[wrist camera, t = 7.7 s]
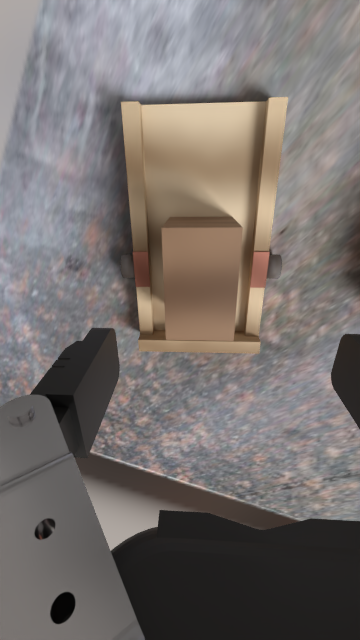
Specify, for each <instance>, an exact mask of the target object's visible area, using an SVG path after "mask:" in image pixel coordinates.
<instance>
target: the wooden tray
mask: <svg viewBox="0 0 360 640" xmlns="http://www.w3.org/2000/svg"><path fill="white" fill-rule="evenodd" d="M287 102H288V97H272V98H269V99H268V100H267V101H264V102H229V103H194V104H159V105H141V104H140V103H139V101H136V102H121V109H122V121H123V133H124V145H125V157H126V169H127V181H128V193H129V205H130V217H131V229H132V241H133V255H122V257H121V273H122V276H123V278H135V285H136V289H137V301H138V313H139V325H140V337H139V339H138V343H139V351H158V352H208V353H258V354H259V350H260V343H261V342H260V339H259V337H258V336H259V328H260V320H261V312H262V304H263V296H264V288H265V285H266V278H273V279H278V278H279V277H280V274H281V270H282V259H281V256H280V255H269V253H270V252H269V247H270V239H271V231H272V223H273V215H274V207H275V199H276V191H277V182H278V174H279V166H280V158H281V150H282V142H283V134H284V126H285V118H286V110H287ZM170 217H233V218H234V219H235V220H236V221H237V222H238V223H239V224H240V225H241V226H242V227H243V231H242V243H241V256H240V268H239V281H238V293H237V306H236V318H235V330H234V341H209V340H166V331H165V305H164V280H163V255H162V229H161V228H162V227H163V225H164V224H165V223H166V221H167V220H168V219H169V218H170Z"/></svg>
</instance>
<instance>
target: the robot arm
mask: <svg viewBox="0 0 360 640" xmlns="http://www.w3.org/2000/svg"><path fill="white" fill-rule="evenodd" d="M118 377H119V358H118V350H117V341H116V334H115V330H114V329H113V328H92V329H91V330H90V331H89V333H88V334H87V335H86V337H85V338H84V340H83V341H76V342H75V343H73V344H72V345H70V346H69V347H67V348H66V349H65V350H64V351H63V352H62V353H61V355H60V356H59V357H58V360H56V361H55V363H54V364H53V365H52V368H50V369H49V370H48V372H47V373H46V374H45V376H44V377H43V378H42V379H41V381H40V382H39V383H38V385H37V386H36V387H35V388H34V390H33V391H32V392H31V394H30V395H25V396H21V397H18V398H15V399H13V400H11V401H9V402H7V403H5V404H4V405H2V406H1V407H0V640H360V521H343V520H326V519H308V520H304V521H300V522H296V523H292V524H288V525H284V526H280V527H275V528H271V529H267V530H258V529H255V528H251V527H249V526H246V525H243V524H240V523H237V522H234V521H231V520H228V519H225V518H222V517H219V516H216V515H213V514H210V513H201V512H183V511H165V510H160V513H159V521H158V527H155V528H151V529H148V530H145V531H143V532H140V533H137V534H135V535H134V536H132V537H130V538H128V539H127V540H125V541H123V542H122V543H121V544H119V545H118V546H116V547H115V548H114V549H113V550H112V551H110V549H109V546H108V543H107V541H106V539H105V536H104V533H103V531H102V528H101V525H100V523H99V520H98V518H97V516H96V513H95V510H94V507H93V505H92V502H91V500H90V497H89V495H88V492H87V489H86V487H85V484H84V482H83V479H82V477H81V474H80V471H79V469H78V466H77V464H76V461H75V459H74V457H80V458H87V457H88V455H89V452H90V450H91V447H92V445H93V442H94V440H95V437H96V435H97V432H98V430H99V427H100V425H101V422H102V419H103V417H104V414H105V412H106V409H107V407H108V404H109V402H110V399H111V397H112V394H113V391H114V389H115V386H116V384H117V381H118ZM331 381H332V385H333V388H334V390H335V391H336V393H337V394H338V396H339V397H340V399H341V401H342V402H343V404H344V405H345V407H346V408H347V410H348V411H349V413H350V415H351V416H352V418H353V419H354V421H355V422H356V424H357V426H358V427H359V429H360V334H345V335H343V337H342V338H341V340H340V344H339V347H338V351H337V354H336V358H335V361H334V365H333V368H332V372H331Z"/></svg>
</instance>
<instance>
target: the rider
mask: <svg viewBox="0 0 360 640" xmlns="http://www.w3.org/2000/svg"><path fill="white" fill-rule="evenodd" d="M161 229H162V255H163V280H164V305H165V331H166V340H209V341H234V330H235V318H236V306H237V293H238V281H239V268H240V256H241V243H242V231H243V227H242V226H241V225H240V224H239V223H238V222H237V221H236V220H235V219H234V218H233V217H170V218H169V219H168V220H167V221H166V223H165V224H164V225H163V227H162V228H161Z"/></svg>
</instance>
